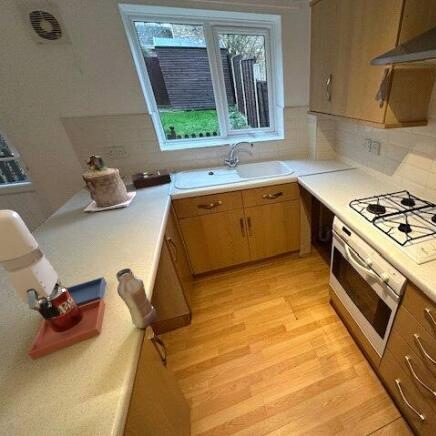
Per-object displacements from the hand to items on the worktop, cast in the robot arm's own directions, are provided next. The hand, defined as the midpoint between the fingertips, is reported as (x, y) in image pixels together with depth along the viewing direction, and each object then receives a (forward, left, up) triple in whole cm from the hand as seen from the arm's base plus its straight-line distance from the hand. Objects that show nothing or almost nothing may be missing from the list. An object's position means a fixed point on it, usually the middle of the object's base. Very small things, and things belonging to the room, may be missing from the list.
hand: (57, 306), depth 69 cm
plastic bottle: (+20, -9, -10) cm, 24 cm away
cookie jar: (+2, +108, -10) cm, 108 cm away
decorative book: (+27, +137, -10) cm, 140 cm away
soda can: (0, 0, -7) cm, 7 cm away
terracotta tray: (0, 0, -10) cm, 10 cm away
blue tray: (0, +14, -10) cm, 17 cm away
